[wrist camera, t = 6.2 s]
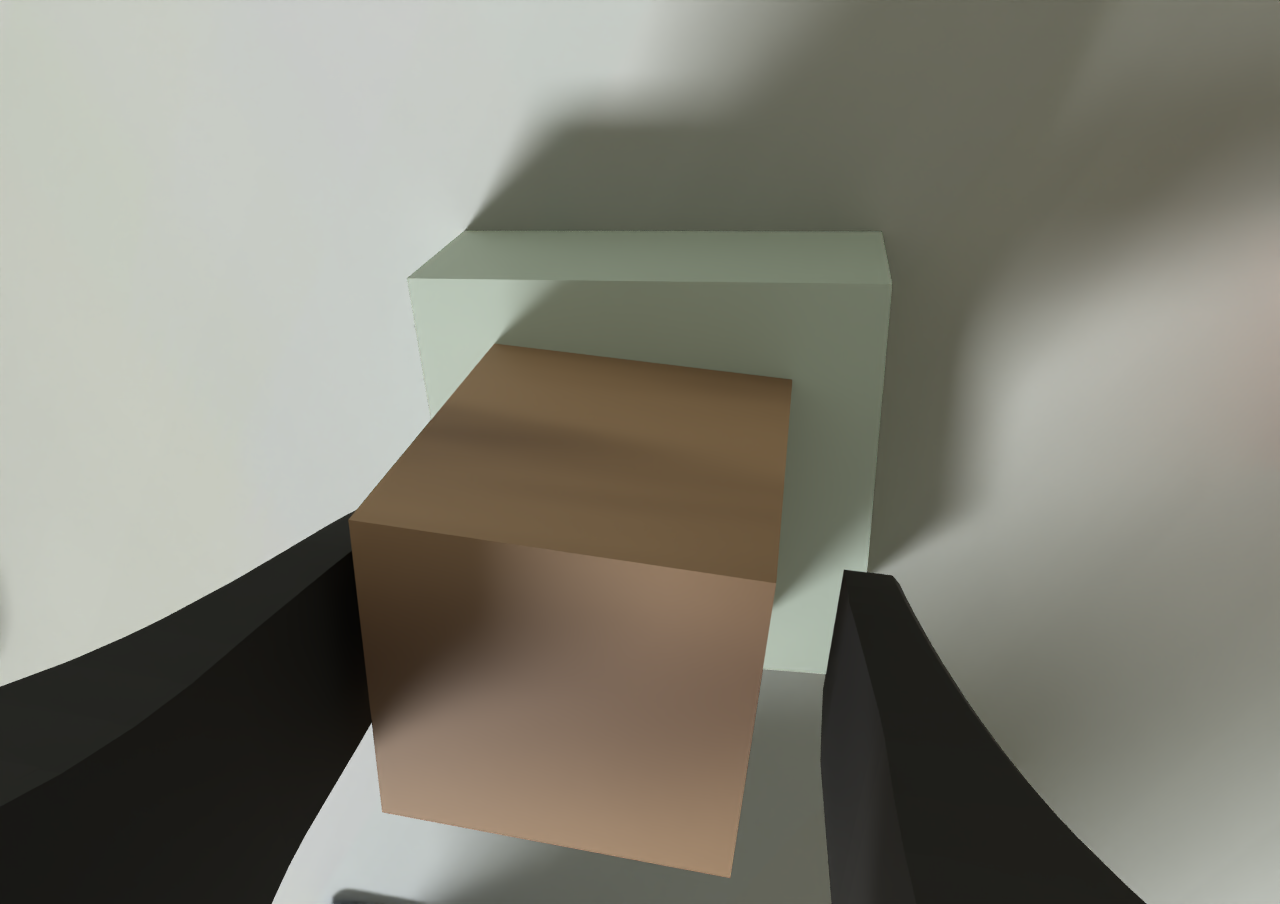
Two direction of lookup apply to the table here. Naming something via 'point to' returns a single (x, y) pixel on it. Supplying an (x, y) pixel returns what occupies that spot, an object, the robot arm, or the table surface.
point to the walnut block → (576, 603)
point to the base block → (703, 359)
